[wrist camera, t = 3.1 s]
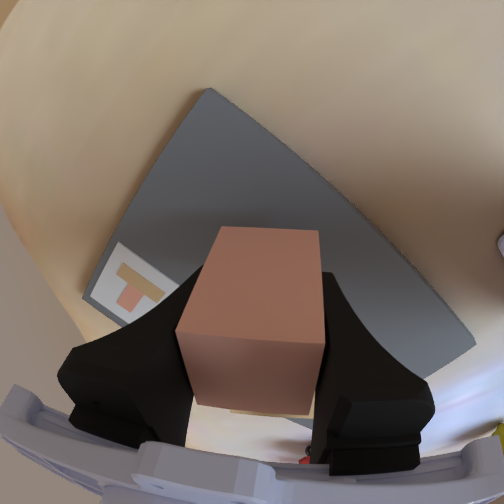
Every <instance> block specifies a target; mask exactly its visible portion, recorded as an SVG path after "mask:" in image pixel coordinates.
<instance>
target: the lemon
mask: <svg viewBox="0 0 504 504" xmlns="http://www.w3.org/2000/svg"><path fill="white" fill-rule="evenodd" d="M493 435H499V439H500V443H501V447H502V451H503V456H504V423H500V424H499V425H498V427H497V429H496V430H495V432H494V433H493V434H492V435H491V436H493Z"/></svg>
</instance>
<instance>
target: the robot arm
mask: <svg viewBox="0 0 504 504" xmlns="http://www.w3.org/2000/svg"><path fill="white" fill-rule="evenodd" d="M497 245H498V248H499V250H500V252H501V254H502V256H503V257H504V235H503V236H502V237H501V238H500V239H499V241H498V244H497ZM203 266H204V265H202V266H200V267H199V268H198V269H197V270H196V271H195V272H194V273H193V274H192V275H191V276H190V277H189V278H188V279H187V280H186V281H184V282H183V283H182V284H181V285H180V286H179V287H178V288H177V289H176V290H175V291H174V292H172V293H171V294H170V295H169V296H168V297H167V298H165V299H164V300H163V301H162V302H160V303H159V304H158V305H157V306H155V307H154V308H153V309H151V310H150V311H149V312H147V313H146V314H144V315H143V316H141V317H140V318H138V319H136V320H135V321H133V322H131V323H129V324H128V325H126V326H124V327H122V328H121V329H119V330H117V331H115V332H113V333H111V334H109V335H106V336H104V337H102V338H99V339H97V340H94V341H92V342H89V343H86V344H83V345H80V346H78V347H74V348H73V349H72V350H71V352H70V353H69V355H68V356H67V358H66V360H65V361H64V363H63V365H62V366H61V368H60V369H59V371H58V374H57V377H58V381H59V383H60V385H61V386H62V388H63V389H64V390H65V392H66V393H67V394H68V395H69V397H70V398H71V400H72V401H73V402H74V403H75V407H74V409H73V411H72V413H71V415H67V414H65V413H62V412H60V411H57V410H55V409H53V408H50V407H48V406H45V405H44V404H43V403H42V402H41V400H40V399H39V398H38V397H37V396H36V395H35V394H34V393H32V392H31V391H29V390H27V389H25V388H22V387H20V386H18V385H16V384H14V385H13V387H12V388H11V390H10V392H9V393H8V395H7V397H6V398H5V400H4V402H3V403H2V405H1V407H0V437H1V438H3V439H4V440H5V441H6V442H7V443H9V444H10V445H11V446H12V447H13V448H15V449H16V450H17V451H18V452H20V453H21V454H22V455H24V456H26V457H27V458H29V459H31V460H32V461H34V462H36V463H37V464H39V465H41V466H42V467H44V468H46V469H48V470H50V471H51V472H53V473H55V474H57V475H59V476H61V477H62V478H65V479H66V480H68V481H70V482H72V483H74V484H76V485H78V486H80V487H82V488H84V489H87V490H89V491H91V492H93V493H95V494H97V495H100V496H102V499H101V502H100V504H487V503H489V502H491V501H493V500H495V499H497V498H498V497H500V496H502V495H504V456H503V451H502V447H501V443H500V439H499V435H493V436H489V437H485V438H481V439H477V440H474V441H472V442H470V443H468V444H467V445H466V446H465V447H464V448H463V449H462V450H461V451H457V452H452V453H447V454H442V455H436V456H430V457H423V458H420V454H419V446H418V444H420V443H421V434H420V432H421V431H422V429H423V428H424V427H425V426H426V425H427V423H428V422H429V421H430V420H431V418H432V417H433V415H434V414H435V405H434V401H433V397H432V394H431V391H430V388H429V386H428V383H427V382H426V381H425V380H423V379H422V378H420V377H419V376H417V375H416V374H414V373H413V372H412V371H410V370H409V369H407V368H406V367H405V366H404V365H402V364H401V363H400V362H399V361H397V360H396V359H395V358H394V357H393V356H392V355H391V354H390V353H389V352H388V351H387V350H386V349H385V348H384V347H382V346H381V344H380V343H379V342H378V341H377V340H376V339H375V338H374V337H373V336H372V334H371V333H370V332H369V331H368V330H367V328H366V327H365V326H364V324H363V323H362V322H361V320H360V319H359V317H358V316H357V315H356V313H355V312H354V310H353V309H352V307H351V305H350V304H349V302H348V300H347V299H346V297H345V295H344V294H343V292H342V290H341V288H340V286H339V284H338V282H337V280H336V278H335V276H334V274H333V273H332V272H322V287H323V305H324V326H325V347H324V351H323V356H322V361H321V366H320V370H319V375H318V379H317V383H316V388H315V401H314V417H313V430H312V442H311V452H310V461H309V464H293V463H277V462H265V461H259V460H256V459H250V458H245V457H240V456H233V455H226V454H219V453H213V452H207V451H201V450H196V449H190V448H185V441H186V434H187V428H188V422H189V417H190V411H191V406H192V402H193V397H194V393H193V390H192V386H191V383H190V380H189V377H188V374H187V370H186V367H185V364H184V360H183V357H182V353H181V350H180V346H179V343H178V339H177V336H176V332H175V330H176V328H177V325H178V323H179V321H180V318H181V316H182V314H183V311H184V309H185V307H186V304H187V302H188V300H189V298H190V295H191V293H192V291H193V288H194V286H195V284H196V282H197V279H198V277H199V275H200V273H201V270H202V268H203Z"/></svg>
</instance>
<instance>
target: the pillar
mask: <svg viewBox="0 0 504 504" xmlns="http://www.w3.org/2000/svg"><path fill="white" fill-rule="evenodd" d="M175 332H176V336H177V339H178V343H179V346H180V350H181V353H182V357H183V360H184V364H185V367H186V370H187V374H188V377H189V380H190V383H191V386H192V390H193V393H194V396H195V399H196V402H197V404H198V405H204V406H211V407H218V408H225V409H233V410H242V411H251V412H261V413H273V414H288V415H308V416H309V412H310V408H311V404H312V400H313V396H314V392H315V388H316V383H317V379H318V375H319V370H320V366H321V361H322V356H323V351H324V347H325V326H324V305H323V287H322V271H321V257H320V245H319V233H318V231H317V230H298V229H277V228H254V227H228V226H221V229H220V231H219V233H218V235H217V237H216V240H215V242H214V244H213V246H212V248H211V250H210V253H209V255H208V257H207V259H206V262H205V264H204V266H203V268H202V270H201V273H200V275H199V277H198V279H197V282H196V284H195V286H194V288H193V291H192V293H191V295H190V298H189V300H188V302H187V304H186V307H185V309H184V311H183V314H182V316H181V318H180V321H179V323H178V325H177V328H176V330H175Z"/></svg>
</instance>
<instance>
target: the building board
mask: <svg viewBox="0 0 504 504" xmlns="http://www.w3.org/2000/svg"><path fill="white" fill-rule="evenodd" d="M221 226H228V227H254V228H277V229H298V230H317V231H318V233H319V245H320V257H321V271H322V272H332V273H333V274H334V276H335V278H336V280H337V282H338V284H339V286H340V288H341V290H342V292H343V294H344V295H345V297H346V299H347V300H348V302H349V304H350V305H351V307H352V309H353V310H354V312H355V313H356V315H357V316H358V317H359V319H360V320H361V322H362V323H363V324H364V326H365V327H366V328H367V330H368V331H369V332H370V333H371V334H372V336H373V337H374V338H375V339H376V340H377V341H378V342H379V343H380V344H381V346H382V347H384V348H385V349H386V350H387V351H388V352H389V353H390V354H391V355H392V356H393V357H394V358H395V359H396V360H397V361H399V362H400V363H401V364H402V365H404V366H405V367H406V368H407V369H409V370H410V371H412V372H413V373H414V374H416V375H417V376H419V377H420V378H422V379H424V378H426V377H428V376H429V375H431V374H433V373H434V372H436V371H437V370H439V369H441V368H442V367H444V366H445V365H447V364H448V363H450V362H452V361H453V360H455V359H456V358H458V357H459V356H461V355H462V354H464V353H465V352H466V351H468V350H469V349H471V348H472V347H474V346H475V345H476V342H475V339H474V337H473V336H472V334H471V333H470V332H469V331H468V329H467V328H466V327H465V326H464V324H463V323H462V322H461V321H460V319H459V318H458V317H457V316H456V314H455V313H454V312H453V311H452V310H451V308H450V307H449V306H448V305H447V304H446V303H445V301H444V300H443V299H442V298H441V297H440V296H439V294H438V293H437V292H436V291H435V290H434V289H433V288H432V286H431V285H430V284H429V283H428V282H427V281H426V280H425V279H424V277H423V276H422V275H421V274H420V273H419V272H418V271H417V270H416V269H415V268H414V266H413V265H412V264H411V263H410V262H409V261H408V260H407V259H406V258H405V257H404V256H403V255H402V254H401V253H400V251H399V250H398V249H397V248H396V247H395V246H394V245H393V244H392V243H391V242H390V241H389V240H388V239H387V238H386V237H385V236H384V235H383V234H382V233H381V232H380V231H379V230H378V229H377V228H376V227H375V226H374V225H373V224H372V223H371V222H370V221H369V220H368V219H367V218H366V217H365V216H364V215H363V214H362V213H361V212H360V211H359V210H358V209H357V208H356V207H354V206H353V205H352V204H351V203H350V202H349V201H348V200H347V199H346V198H345V197H344V196H343V195H342V194H341V193H340V192H339V191H337V190H336V189H335V188H334V187H333V186H332V185H331V184H330V183H329V182H328V181H326V180H325V179H324V178H323V177H322V176H321V175H320V174H319V173H317V172H316V171H315V170H314V169H313V168H312V167H311V166H309V165H308V164H307V163H306V162H305V161H304V160H303V159H301V158H300V157H299V156H298V155H297V154H296V153H294V152H293V151H292V150H291V149H290V148H288V147H287V146H286V145H285V144H284V143H282V142H281V141H280V140H279V139H278V138H276V137H275V136H274V135H273V134H271V133H270V132H269V131H268V130H266V129H265V128H264V127H263V126H261V125H260V124H259V123H258V122H256V121H255V120H254V119H252V118H251V117H250V116H249V115H247V114H246V113H245V112H243V111H242V110H241V109H239V108H238V107H237V106H235V105H234V104H233V103H231V102H230V101H229V100H227V99H226V98H225V97H223V96H222V95H221V94H219V93H218V92H216V91H215V90H214V89H212V88H208V89H206V90H205V92H204V93H203V94H202V96H201V97H200V98H199V100H198V101H197V102H196V104H195V105H194V106H193V108H192V109H191V111H190V112H189V113H188V115H187V116H186V118H185V119H184V120H183V122H182V123H181V125H180V126H179V128H178V129H177V130H176V132H175V133H174V135H173V136H172V138H171V139H170V141H169V142H168V144H167V145H166V147H165V148H164V150H163V151H162V153H161V154H160V156H159V158H158V159H157V161H156V162H155V164H154V165H153V167H152V169H151V170H150V172H149V173H148V175H147V177H146V178H145V180H144V181H143V183H142V185H141V186H140V188H139V190H138V191H137V193H136V195H135V197H134V198H133V200H132V202H131V203H130V205H129V207H128V209H127V210H126V212H125V214H124V216H123V218H122V219H121V221H120V223H119V225H118V227H117V228H116V230H115V232H114V234H113V236H112V238H111V240H110V242H109V243H108V245H107V247H106V249H105V251H104V253H103V255H102V257H101V259H100V261H99V263H98V265H97V267H96V269H95V271H94V273H93V275H92V277H91V280H90V282H89V284H88V286H87V288H86V290H85V292H84V295H83V297H82V299H83V300H85V301H86V302H87V303H89V304H90V305H92V306H93V307H94V308H96V309H97V310H98V311H100V312H101V313H103V314H104V315H105V316H107V317H108V318H110V319H111V320H113V321H114V322H115V323H117V324H118V325H120V326H121V327H124V326H126V325H128V324H129V323H131V322H133V321H135V320H136V319H138V318H140V317H141V316H143V315H144V314H146V313H147V312H149V311H150V310H151V309H153V308H154V307H155V306H157V305H158V304H159V303H160V302H162V301H163V300H164V299H165V298H167V297H168V296H169V295H170V294H171V293H172V292H174V291H175V290H176V289H177V288H178V287H179V286H180V285H181V284H182V283H183V282H184V281H186V280H187V279H188V278H189V277H190V276H191V275H192V274H193V273H194V272H195V271H196V270H197V269H198V268H199V267H200V266H202V265H204V264H205V262H206V259H207V257H208V255H209V253H210V250H211V248H212V246H213V244H214V242H215V240H216V237H217V235H218V233H219V231H220V229H221ZM284 418H285V417H284ZM286 419H288V420H291V421H293V422H295V423H298V424H300V425H302V426H305V427H307V428H309V429H312V430H313V419H306V418H286Z"/></svg>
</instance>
